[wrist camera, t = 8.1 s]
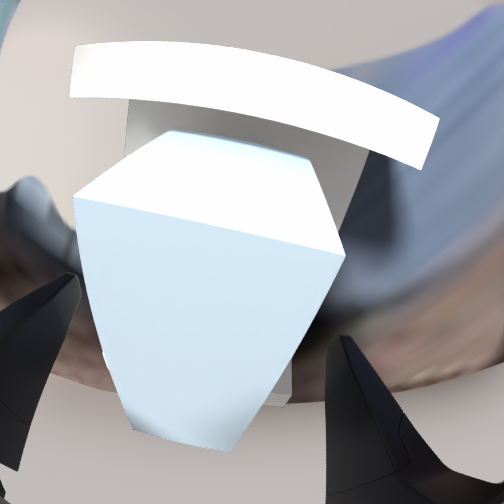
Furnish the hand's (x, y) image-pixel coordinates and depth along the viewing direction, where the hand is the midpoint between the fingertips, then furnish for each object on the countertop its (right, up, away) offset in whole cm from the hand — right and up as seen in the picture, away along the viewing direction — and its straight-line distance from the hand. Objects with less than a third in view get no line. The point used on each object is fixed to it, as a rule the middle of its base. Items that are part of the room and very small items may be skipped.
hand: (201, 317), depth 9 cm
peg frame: (0, +3, +5) cm, 6 cm away
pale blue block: (0, +1, +2) cm, 2 cm away
